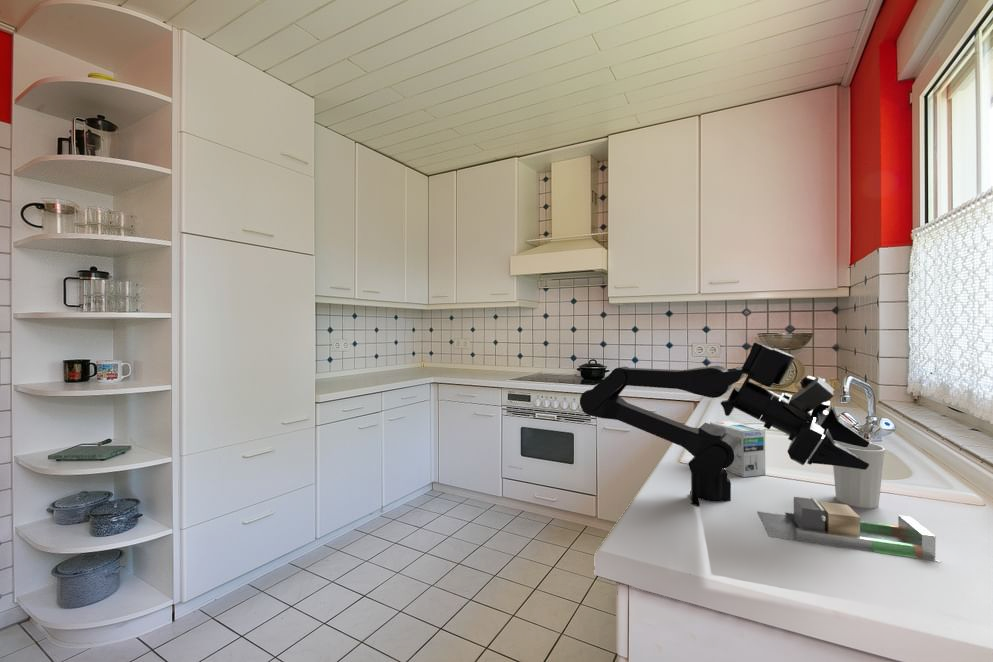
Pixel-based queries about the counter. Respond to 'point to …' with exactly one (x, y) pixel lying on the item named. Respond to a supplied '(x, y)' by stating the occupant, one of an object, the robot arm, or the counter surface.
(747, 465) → the light bulb box
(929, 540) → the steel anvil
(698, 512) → the counter surface
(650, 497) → the counter surface
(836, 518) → the block
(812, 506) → the plunger
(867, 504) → the cup
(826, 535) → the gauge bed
